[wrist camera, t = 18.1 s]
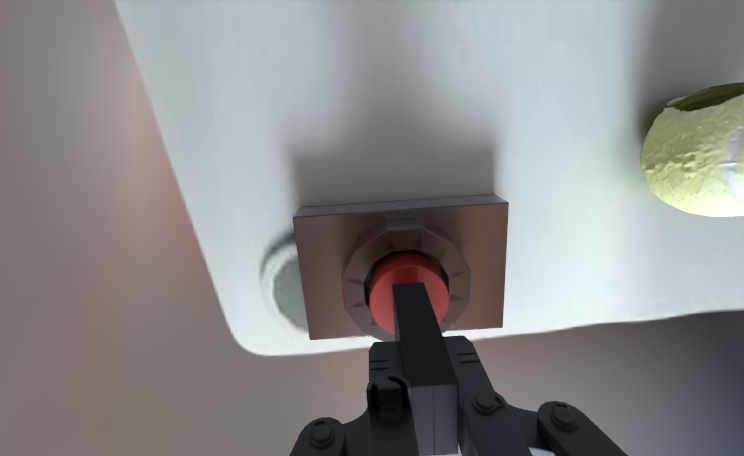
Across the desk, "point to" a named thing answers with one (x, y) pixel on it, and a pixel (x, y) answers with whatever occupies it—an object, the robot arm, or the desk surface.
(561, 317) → the desk surface
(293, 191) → the desk surface
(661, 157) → the tennis ball
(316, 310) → the button block
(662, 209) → the desk surface
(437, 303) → the button
